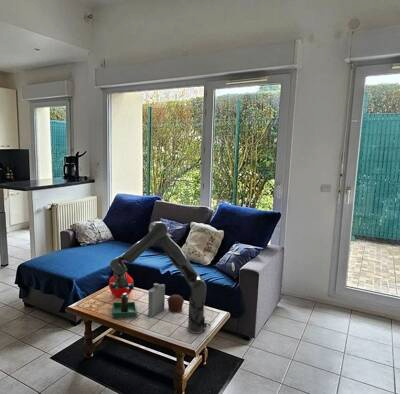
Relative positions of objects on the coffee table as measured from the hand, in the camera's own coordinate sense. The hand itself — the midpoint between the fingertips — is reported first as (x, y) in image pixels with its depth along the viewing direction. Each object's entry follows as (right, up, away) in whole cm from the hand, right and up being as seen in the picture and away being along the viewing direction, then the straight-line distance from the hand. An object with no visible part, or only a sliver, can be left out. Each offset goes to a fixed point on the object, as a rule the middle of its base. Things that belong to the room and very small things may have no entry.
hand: (123, 290), depth 217 cm
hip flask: (+21, -19, +13) cm, 31 cm away
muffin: (+34, -18, +18) cm, 43 cm away
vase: (-5, -15, +39) cm, 42 cm away
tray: (0, -18, +12) cm, 22 cm away
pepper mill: (0, -18, +12) cm, 22 cm away
